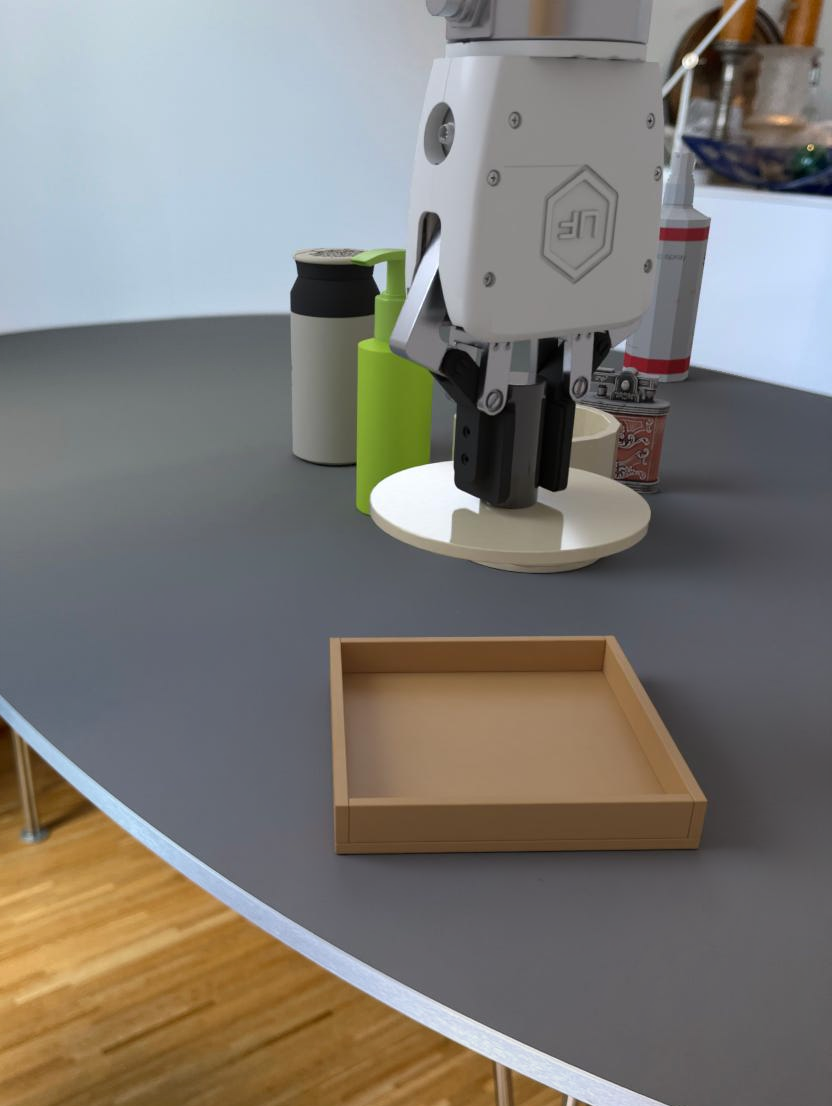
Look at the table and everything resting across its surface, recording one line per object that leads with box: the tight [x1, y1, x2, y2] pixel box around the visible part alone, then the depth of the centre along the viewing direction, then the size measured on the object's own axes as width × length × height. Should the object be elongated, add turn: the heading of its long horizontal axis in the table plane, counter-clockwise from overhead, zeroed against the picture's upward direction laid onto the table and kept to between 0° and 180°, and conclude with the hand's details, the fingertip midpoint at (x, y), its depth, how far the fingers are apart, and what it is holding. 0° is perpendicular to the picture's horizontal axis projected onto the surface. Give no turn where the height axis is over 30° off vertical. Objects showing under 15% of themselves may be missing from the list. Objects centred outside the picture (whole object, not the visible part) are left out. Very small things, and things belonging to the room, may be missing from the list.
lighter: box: [575, 366, 671, 494], centre depth 91 cm, size 8×3×10 cm, turn 65°
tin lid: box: [369, 371, 652, 565], centre depth 47 cm, size 13×13×7 cm
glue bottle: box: [622, 151, 712, 383], centre depth 126 cm, size 8×8×25 cm
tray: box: [329, 635, 709, 855], centre depth 54 cm, size 16×16×3 cm
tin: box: [451, 404, 621, 574], centre depth 78 cm, size 12×12×10 cm
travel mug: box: [289, 247, 381, 466], centre depth 97 cm, size 8×8×18 cm
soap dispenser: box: [350, 248, 434, 517], centre depth 83 cm, size 6×7×20 cm
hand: (510, 485), depth 48 cm, fingers closed on tin lid, 2 cm apart
